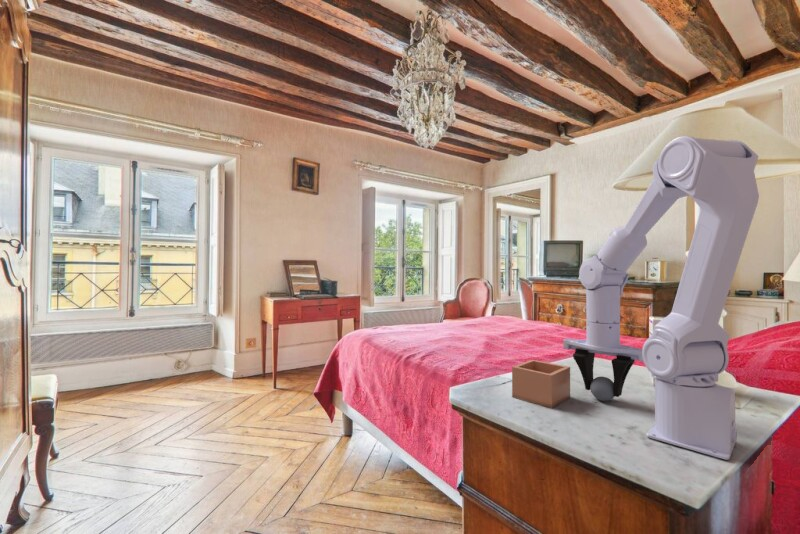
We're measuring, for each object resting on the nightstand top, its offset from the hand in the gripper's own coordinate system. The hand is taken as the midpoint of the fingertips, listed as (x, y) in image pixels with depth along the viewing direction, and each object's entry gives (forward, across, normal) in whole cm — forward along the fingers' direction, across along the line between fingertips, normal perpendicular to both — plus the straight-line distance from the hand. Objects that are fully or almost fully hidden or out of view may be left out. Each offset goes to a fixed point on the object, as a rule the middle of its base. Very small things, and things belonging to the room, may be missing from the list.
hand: (603, 391), depth 72 cm
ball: (+2, 0, 0) cm, 2 cm away
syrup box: (+2, -6, -20) cm, 21 cm away
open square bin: (+2, +9, +7) cm, 12 cm away
